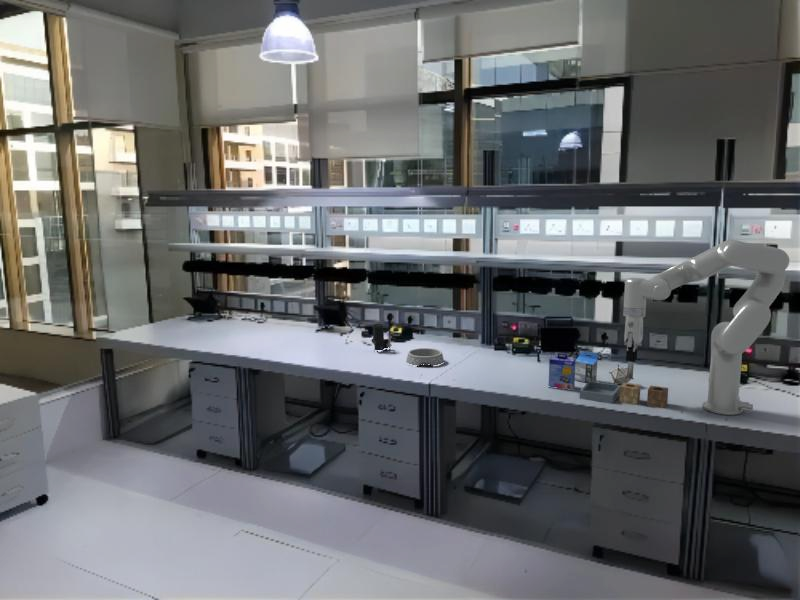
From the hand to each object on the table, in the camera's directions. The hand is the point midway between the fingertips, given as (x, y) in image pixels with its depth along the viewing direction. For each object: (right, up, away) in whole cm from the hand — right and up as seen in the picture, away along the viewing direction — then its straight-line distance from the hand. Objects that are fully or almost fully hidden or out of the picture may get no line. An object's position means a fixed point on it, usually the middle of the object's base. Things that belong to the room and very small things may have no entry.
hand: (631, 360), depth 215 cm
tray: (-9, -15, +9) cm, 19 cm away
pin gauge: (0, -7, +1) cm, 7 cm away
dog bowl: (-74, -8, +60) cm, 96 cm away
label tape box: (-9, -12, +28) cm, 31 cm away
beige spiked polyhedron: (+4, -13, +22) cm, 26 cm away
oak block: (0, -16, +2) cm, 16 cm away
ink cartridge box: (-20, -13, +20) cm, 32 cm away
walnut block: (+9, -16, -2) cm, 18 cm away
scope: (-96, -4, +83) cm, 127 cm away
